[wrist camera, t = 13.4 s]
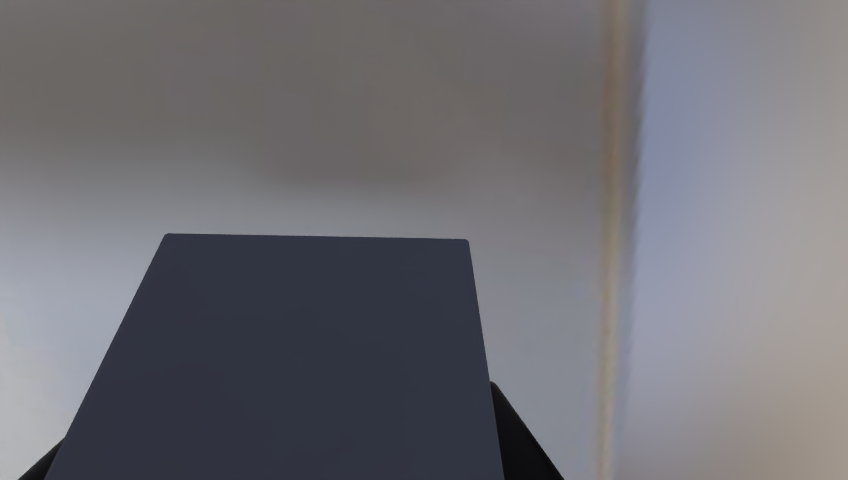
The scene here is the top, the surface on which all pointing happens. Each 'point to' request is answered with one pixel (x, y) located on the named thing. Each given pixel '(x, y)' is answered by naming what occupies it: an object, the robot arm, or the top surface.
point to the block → (293, 366)
